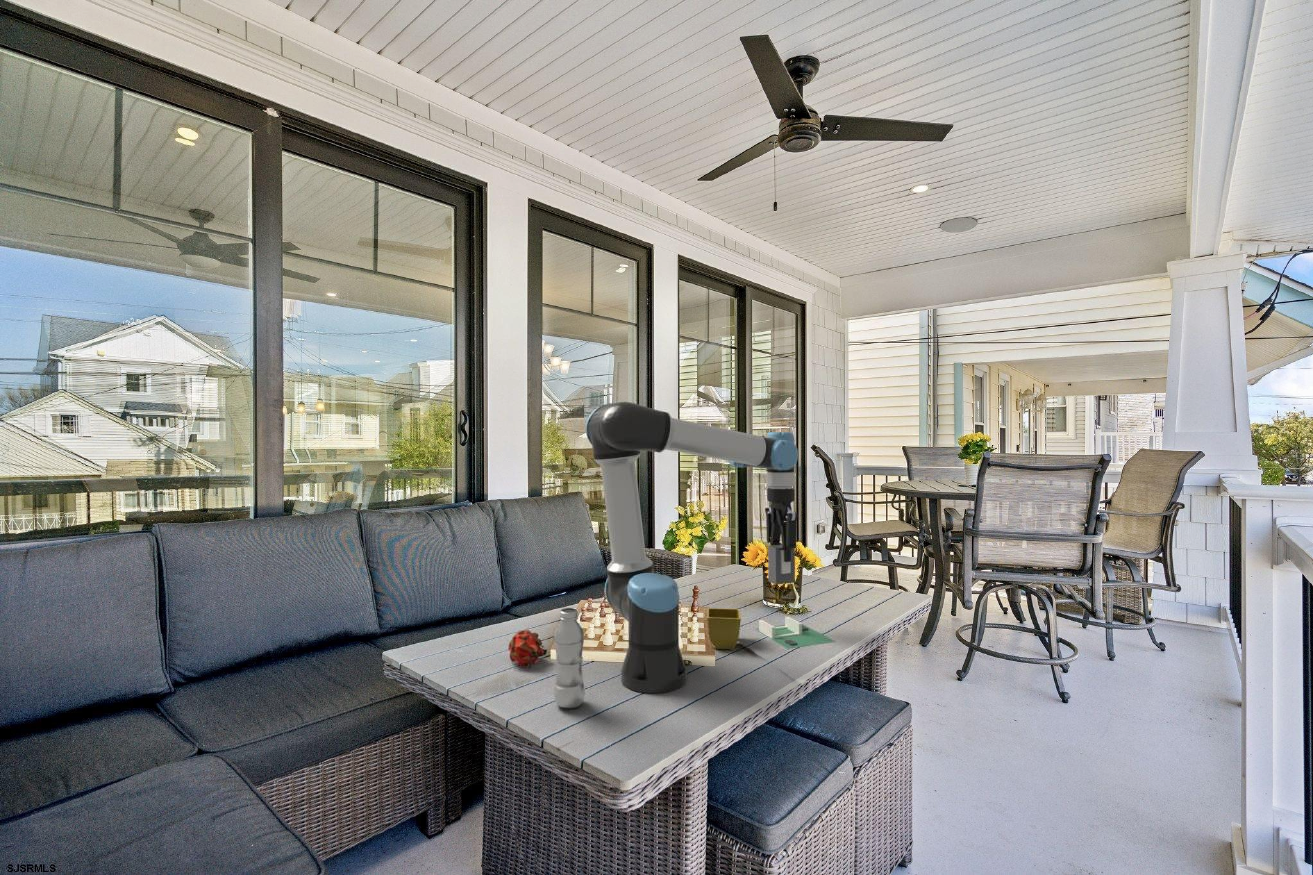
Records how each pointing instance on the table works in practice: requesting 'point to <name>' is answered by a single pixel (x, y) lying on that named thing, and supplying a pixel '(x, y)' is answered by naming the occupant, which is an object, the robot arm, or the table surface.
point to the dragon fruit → (526, 648)
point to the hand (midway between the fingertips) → (781, 571)
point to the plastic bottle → (569, 660)
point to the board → (792, 634)
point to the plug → (779, 566)
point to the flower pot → (723, 627)
